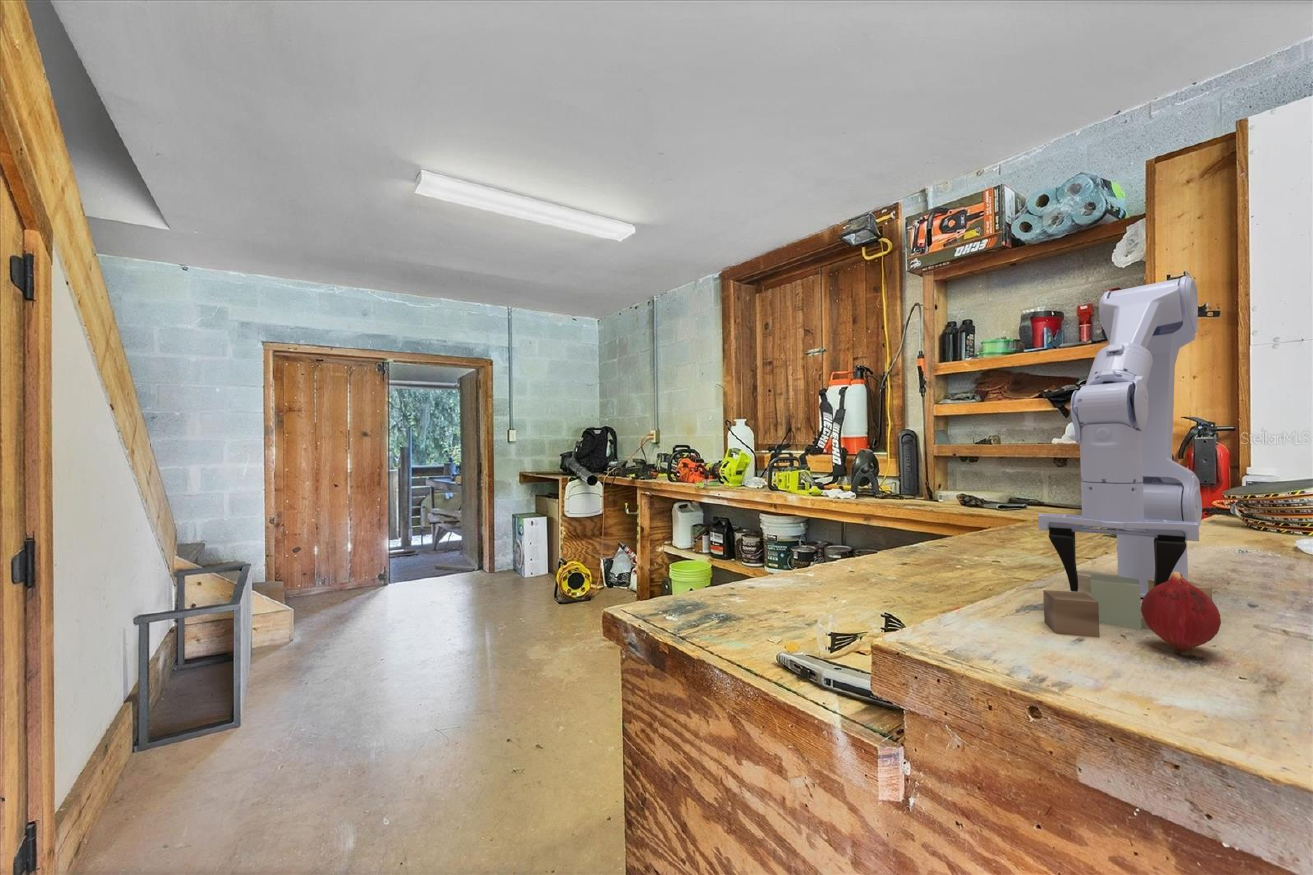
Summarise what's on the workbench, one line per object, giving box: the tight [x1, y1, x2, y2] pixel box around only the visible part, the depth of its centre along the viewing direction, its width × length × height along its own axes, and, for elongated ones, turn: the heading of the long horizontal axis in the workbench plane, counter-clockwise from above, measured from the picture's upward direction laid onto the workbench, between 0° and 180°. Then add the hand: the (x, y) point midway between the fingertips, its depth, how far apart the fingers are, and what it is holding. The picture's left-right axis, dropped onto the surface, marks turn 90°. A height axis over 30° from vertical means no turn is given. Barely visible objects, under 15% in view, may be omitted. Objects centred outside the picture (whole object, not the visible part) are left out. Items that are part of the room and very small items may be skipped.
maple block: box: [1070, 568, 1119, 597], centre depth 71 cm, size 4×4×4 cm
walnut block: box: [1042, 589, 1101, 639], centre depth 61 cm, size 4×4×4 cm
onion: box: [1141, 571, 1222, 652], centre depth 55 cm, size 6×6×8 cm
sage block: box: [1091, 573, 1142, 630], centre depth 64 cm, size 4×4×5 cm
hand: (1114, 594), depth 64 cm, fingers open, 7 cm apart
